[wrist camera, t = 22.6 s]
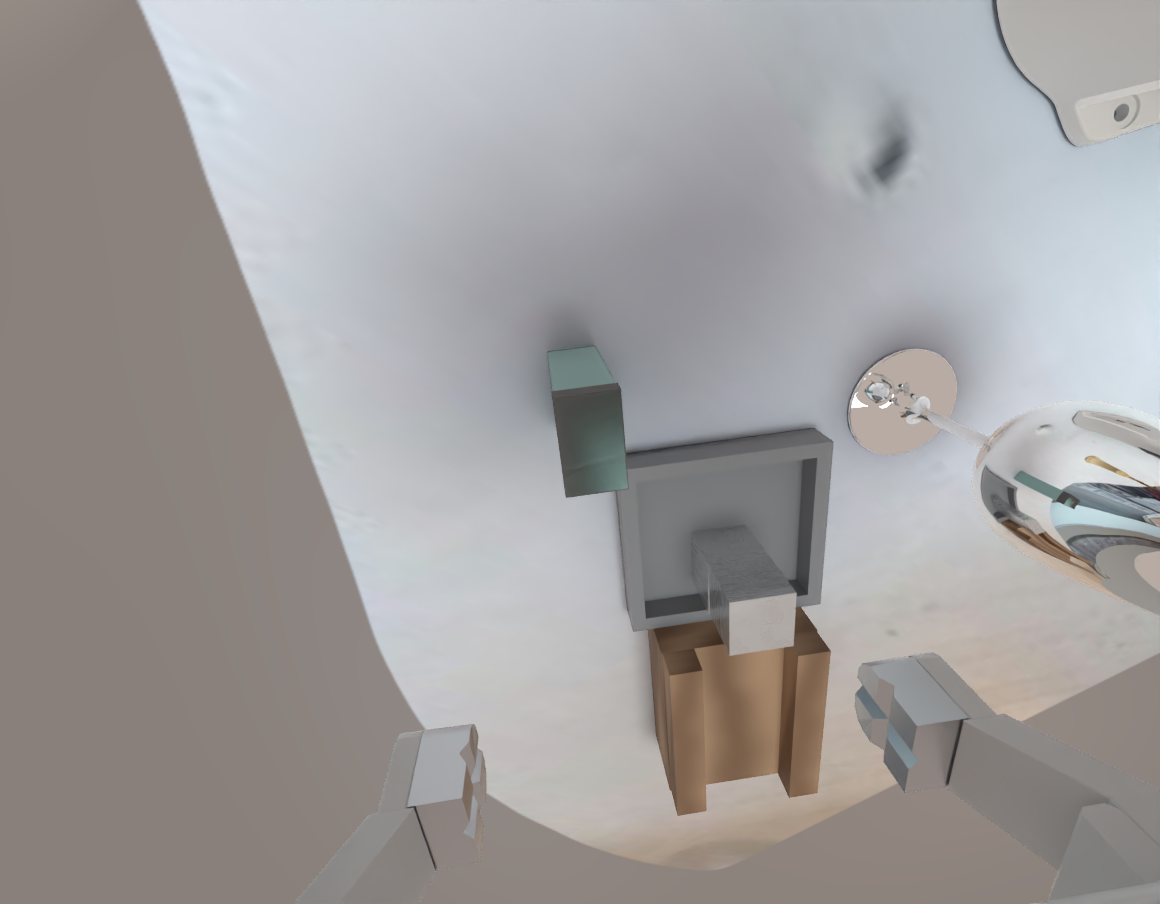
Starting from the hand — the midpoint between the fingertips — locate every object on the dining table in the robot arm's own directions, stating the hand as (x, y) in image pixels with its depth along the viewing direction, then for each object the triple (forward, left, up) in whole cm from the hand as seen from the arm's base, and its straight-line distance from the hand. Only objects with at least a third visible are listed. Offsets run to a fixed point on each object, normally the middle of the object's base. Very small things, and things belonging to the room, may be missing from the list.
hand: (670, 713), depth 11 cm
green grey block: (0, 0, -25) cm, 25 cm away
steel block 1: (-9, +15, -22) cm, 29 cm away
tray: (-9, +11, -25) cm, 29 cm away
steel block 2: (-9, +13, -20) cm, 26 cm away
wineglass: (-22, +4, -25) cm, 34 cm away
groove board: (-9, +25, -25) cm, 37 cm away
